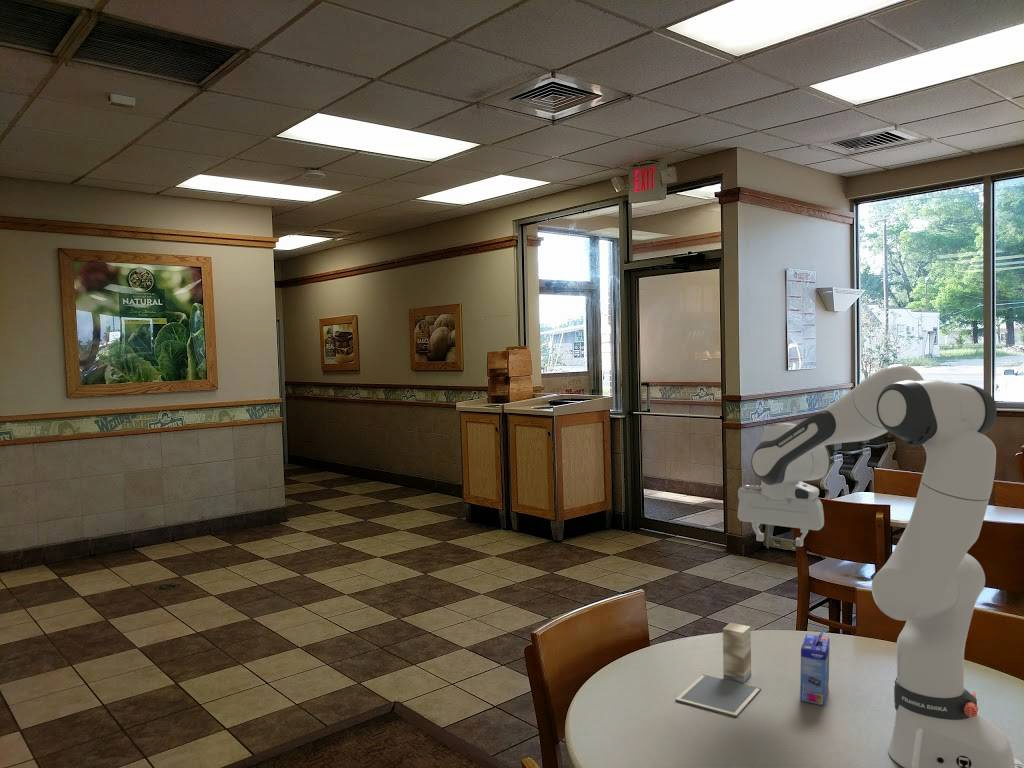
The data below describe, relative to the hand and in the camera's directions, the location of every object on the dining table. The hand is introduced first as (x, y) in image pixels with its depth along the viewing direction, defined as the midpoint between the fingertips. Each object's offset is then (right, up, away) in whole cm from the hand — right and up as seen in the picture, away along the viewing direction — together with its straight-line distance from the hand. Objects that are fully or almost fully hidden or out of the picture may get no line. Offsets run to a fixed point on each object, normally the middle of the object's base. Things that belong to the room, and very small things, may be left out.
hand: (779, 543), depth 185 cm
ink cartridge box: (+2, -31, -16) cm, 35 cm away
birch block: (-12, -31, -5) cm, 34 cm away
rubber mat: (-19, -32, -15) cm, 40 cm away
